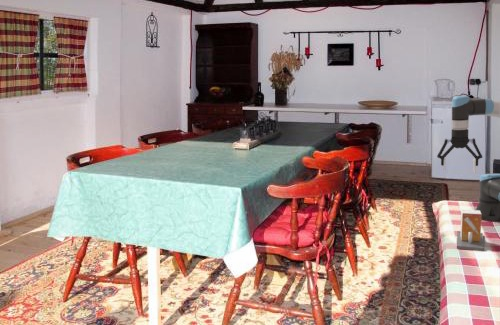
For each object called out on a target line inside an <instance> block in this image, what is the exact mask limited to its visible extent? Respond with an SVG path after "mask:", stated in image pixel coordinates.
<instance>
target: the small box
mask: <svg viewBox="0 0 500 325" xmlns="http://www.w3.org/2000/svg"><path fill="white" fill-rule="evenodd" d="M460 215H461V216H460V237H461V240H462V241H468V234H469V232H472V241H478V242H480V235H481V233H482V232H481V231H482V230H481V229H482V219H481V212H480V210H476V209H474V210H473V209H461V212H460Z"/></svg>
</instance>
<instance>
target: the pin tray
mask: <svg viewBox="0 0 500 325" xmlns="http://www.w3.org/2000/svg"><path fill="white" fill-rule="evenodd" d="M460 232H461V230H459V231H457V232H456V249H457V250H458V249H460V250H470V251H483V252H484V251H485V247H484V246H485V245H484V238H483V237H484V236H483V235H484V234H483V233H482V232H481V235H480V242H478V241H472V232H469V234H468V241H462V240H461V237H460Z"/></svg>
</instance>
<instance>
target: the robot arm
mask: <svg viewBox="0 0 500 325" xmlns="http://www.w3.org/2000/svg"><path fill="white" fill-rule="evenodd" d="M469 116H471V117H472V116H485V117H486V116H487V117H495V118H500V101H493V99H491V98H474V97H473V98H472V97H470V96H468V95H456V96H453V97H452V101H451V138H444V140H443V142H444V143H443V144H442V146H441V148H440V150H439V152H438V154H437V156H436V157H437V158H438V159H440V165H441V166H442V167H443V173H444V174H445V173H446V157H447V156H448V155H449V154H450V152H452V150H454V148H455V149H464V148H465V149H466V150H467V151H468V152H469V153H470V154H471V155H472V157H474V158H473V173H474V174H476V173H477V172H476V168H477V167H479V160H480V159H482V158H483V155H482V153H481V151H480V149H479V147H478V145H477V142H476V138H474V137H473V138H469V126H470V125H469V123H470V122H469V121H470V120H469V119H470V117H469ZM450 143H451V145H450V147H449V148H448V149H447V150H446V151H445V149H446V147H447V144H450ZM469 143H470V144H472V145H473V148H475V151H476V152H474V151H473V150H472V149H471V147H470V146H469ZM444 151H445V152H444ZM443 152H444V153H443ZM476 153H477V154H476ZM478 192H479V193H478V194H479V197H478V203H477V206H476V209H475V210H480V212H481V221H482V220H483V221H489V222H500V173H483V174H481V175H480V178H479V191H478Z"/></svg>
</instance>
